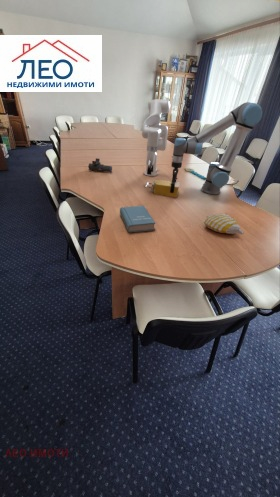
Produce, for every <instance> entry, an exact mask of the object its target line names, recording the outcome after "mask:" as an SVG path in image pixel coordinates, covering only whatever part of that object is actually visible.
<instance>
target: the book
mask: <svg viewBox="0 0 280 497" xmlns="http://www.w3.org/2000/svg"><path fill="white" fill-rule="evenodd" d="M119 214H120V217H121V219H122V221H123V223H124V226H125V227H126V230H127V232H128V233H141V232H151V231H155V230H156V229H155V224H156V221H155V220H154V218H153V217H152V215H151V214H150V212H149V211H148V209H147V207H146V206H145V205H135V206H134V205H133V206H124V207H123V206H122V207H120V208H119Z"/></svg>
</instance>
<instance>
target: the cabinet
mask: <svg viewBox="0 0 280 497" xmlns="http://www.w3.org/2000/svg"><path fill="white" fill-rule="evenodd" d="M171 183H172V180H163V179H156V180H155V187H154V191H153V194H154V195H159V196H165V197H172V198H178V194H179V189H180V182H178V181H176V182H175V187H174V193H170V189H171V185H170V184H171Z"/></svg>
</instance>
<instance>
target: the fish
mask: <svg viewBox="0 0 280 497" xmlns="http://www.w3.org/2000/svg"><path fill="white" fill-rule="evenodd" d="M203 223H204V225H205V226H206V227H207V228H208V229H210V230H212V231H214V232H217V233H222V234H227V235H237V234H239V235H244V234H245V233H244V232H243V231H242V229H241V227H240V225H239V224H238V222H237V219H236V218H235V217H232V216H230V215H229V214H228V213H216V214H210V215H207V216H206V218H205V219H204V220H203Z"/></svg>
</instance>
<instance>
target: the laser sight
mask: <svg viewBox="0 0 280 497" xmlns="http://www.w3.org/2000/svg"><path fill="white" fill-rule="evenodd" d="M88 170H89V171H93V172H101V173H104V172H107V173H112V172H113V166H112V165H105V164H102V163H101V162H100V158H95V160H91V163H88Z"/></svg>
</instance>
